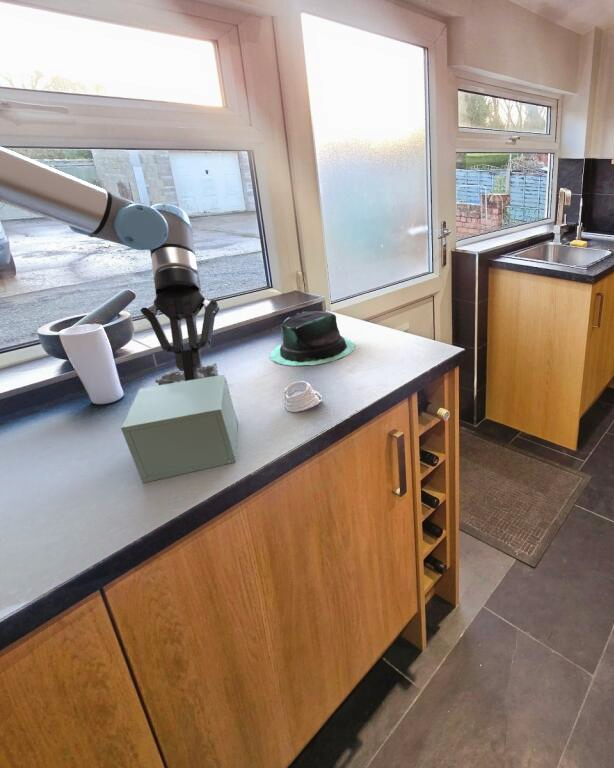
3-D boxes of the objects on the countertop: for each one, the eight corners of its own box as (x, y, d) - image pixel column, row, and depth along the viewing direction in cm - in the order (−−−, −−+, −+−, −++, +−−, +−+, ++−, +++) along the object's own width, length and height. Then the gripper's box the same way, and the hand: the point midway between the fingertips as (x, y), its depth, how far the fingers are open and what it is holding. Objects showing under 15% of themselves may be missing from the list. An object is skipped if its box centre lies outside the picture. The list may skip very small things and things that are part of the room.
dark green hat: (324, 367, 112) (248, 362, 116) (365, 374, 130) (297, 370, 134) (330, 301, 113) (254, 299, 117) (370, 318, 131) (303, 316, 135)
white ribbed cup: (330, 406, 99) (329, 383, 97) (303, 418, 93) (301, 394, 91) (302, 395, 102) (300, 373, 100) (274, 406, 96) (271, 383, 94)
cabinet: (157, 437, 86) (139, 388, 82) (237, 421, 91) (224, 374, 87) (142, 483, 74) (120, 427, 70) (236, 462, 79) (220, 409, 75)
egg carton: (158, 399, 100) (151, 381, 98) (168, 384, 107) (161, 367, 105) (217, 391, 103) (211, 373, 101) (223, 377, 110) (218, 360, 108)
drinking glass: (125, 389, 104) (100, 321, 98) (132, 399, 100) (105, 328, 94) (85, 399, 100) (55, 329, 94) (90, 410, 96) (59, 337, 89)
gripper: (218, 283, 104) (235, 385, 98) (144, 290, 99) (157, 398, 93) (209, 262, 98) (227, 370, 91) (130, 269, 93) (143, 383, 86)
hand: (192, 384), depth 92 cm, fingers closed
